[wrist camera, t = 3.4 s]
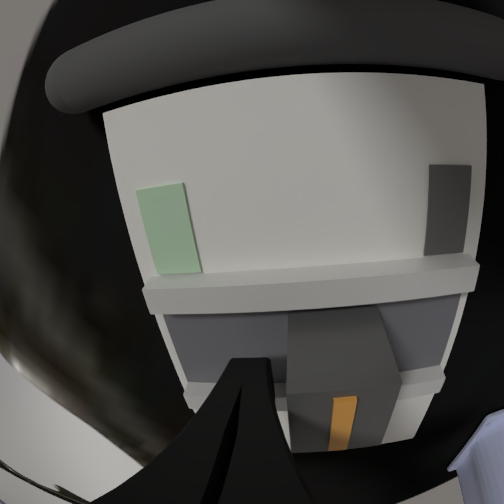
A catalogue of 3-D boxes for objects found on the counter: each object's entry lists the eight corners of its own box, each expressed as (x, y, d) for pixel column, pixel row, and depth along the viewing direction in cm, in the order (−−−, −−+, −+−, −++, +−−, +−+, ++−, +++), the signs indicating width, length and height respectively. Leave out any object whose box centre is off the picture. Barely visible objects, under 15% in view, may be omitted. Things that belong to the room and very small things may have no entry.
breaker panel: (408, 419, 15) (415, 449, 13) (216, 430, 17) (210, 461, 15) (461, 84, 8) (499, 84, 6) (124, 110, 10) (86, 115, 7)
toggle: (366, 372, 11) (381, 448, 8) (293, 378, 12) (290, 456, 8) (376, 304, 10) (403, 387, 7) (288, 311, 10) (285, 398, 7)
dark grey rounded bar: (503, 85, 7) (542, 87, 5) (76, 118, 10) (36, 126, 8) (494, 28, 6) (531, 20, 4) (69, 63, 9) (29, 61, 7)
